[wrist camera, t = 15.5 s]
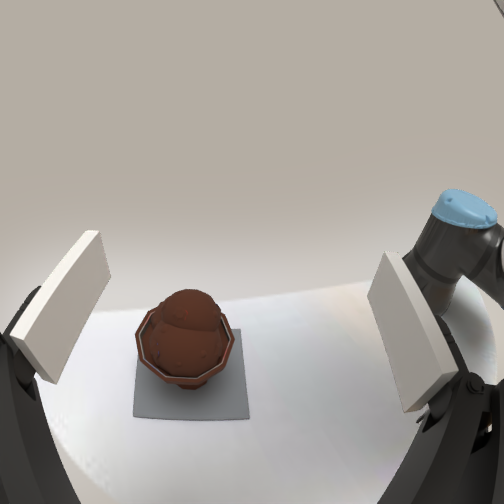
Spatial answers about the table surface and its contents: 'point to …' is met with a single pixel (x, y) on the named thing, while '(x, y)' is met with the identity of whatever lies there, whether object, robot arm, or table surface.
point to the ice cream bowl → (185, 339)
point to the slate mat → (195, 393)
